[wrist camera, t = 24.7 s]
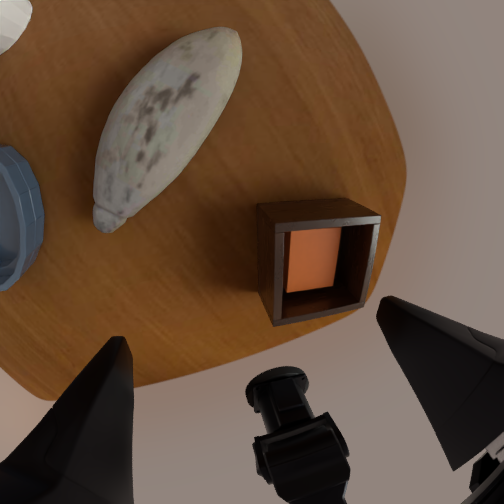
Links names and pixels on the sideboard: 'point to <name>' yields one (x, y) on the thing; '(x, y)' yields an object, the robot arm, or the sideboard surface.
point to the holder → (348, 261)
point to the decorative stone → (162, 122)
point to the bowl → (18, 216)
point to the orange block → (310, 258)
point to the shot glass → (13, 21)
